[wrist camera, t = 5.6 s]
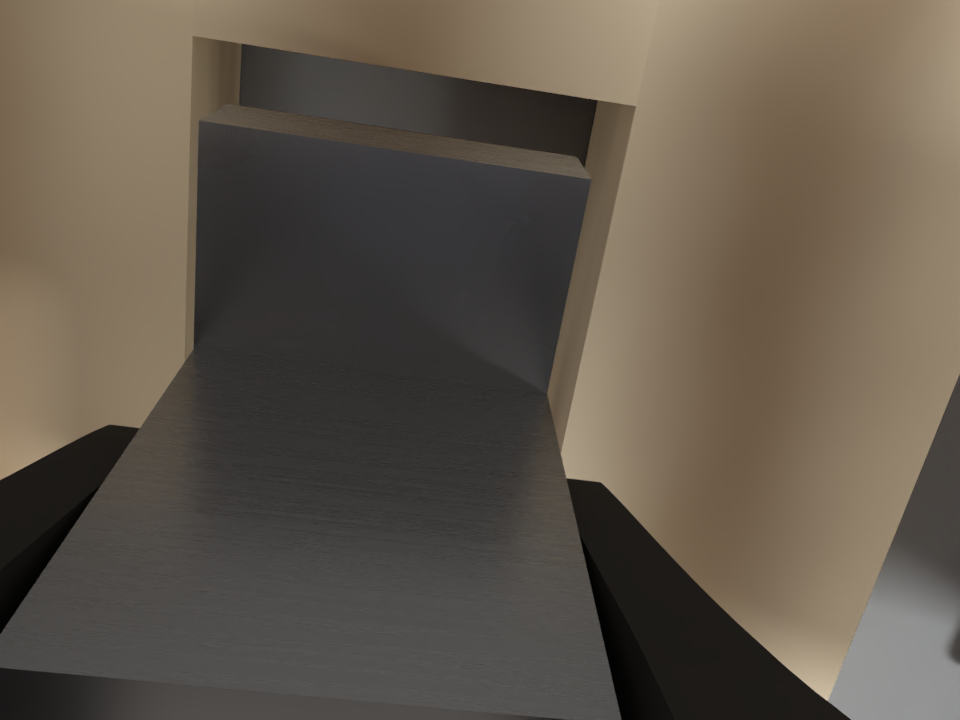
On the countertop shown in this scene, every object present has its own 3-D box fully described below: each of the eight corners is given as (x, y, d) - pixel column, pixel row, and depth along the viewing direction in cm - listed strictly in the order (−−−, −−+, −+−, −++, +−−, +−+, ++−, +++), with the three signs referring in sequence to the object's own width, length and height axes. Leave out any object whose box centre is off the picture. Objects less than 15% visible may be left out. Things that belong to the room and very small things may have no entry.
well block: (977, 16, 14) (1101, 23, 12) (760, 632, 19) (812, 739, 17) (-161, -183, 13) (-329, -229, 10) (-79, 545, 18) (-175, 646, 15)
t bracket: (576, 156, 10) (725, 378, 5) (483, 626, 13) (506, 1110, 7) (227, 103, 10) (-61, 276, 4) (209, 598, 13) (22, 1087, 7)
